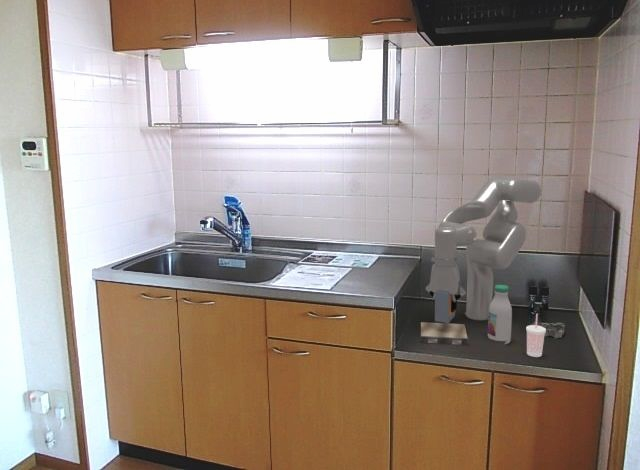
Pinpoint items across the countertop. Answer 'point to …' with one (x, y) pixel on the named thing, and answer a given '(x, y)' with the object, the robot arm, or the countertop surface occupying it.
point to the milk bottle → (500, 315)
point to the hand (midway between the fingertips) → (445, 309)
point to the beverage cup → (535, 339)
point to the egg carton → (552, 329)
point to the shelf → (444, 333)
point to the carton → (443, 307)
